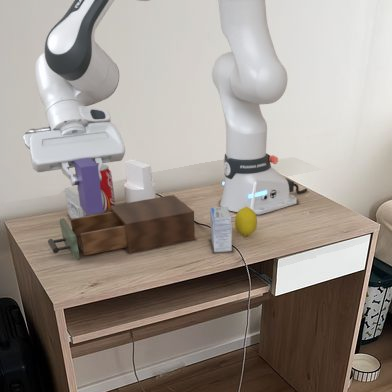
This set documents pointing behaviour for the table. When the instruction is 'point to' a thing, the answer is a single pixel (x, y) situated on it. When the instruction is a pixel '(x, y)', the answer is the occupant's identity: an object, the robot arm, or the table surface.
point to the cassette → (74, 204)
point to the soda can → (106, 188)
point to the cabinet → (155, 222)
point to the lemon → (245, 221)
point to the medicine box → (221, 229)
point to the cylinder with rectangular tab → (138, 182)
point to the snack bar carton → (89, 186)
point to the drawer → (91, 234)
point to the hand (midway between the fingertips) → (87, 182)
